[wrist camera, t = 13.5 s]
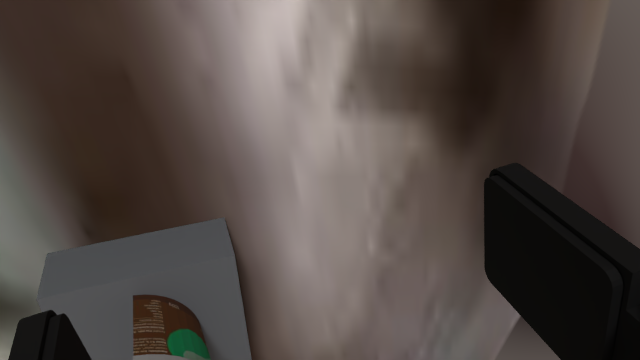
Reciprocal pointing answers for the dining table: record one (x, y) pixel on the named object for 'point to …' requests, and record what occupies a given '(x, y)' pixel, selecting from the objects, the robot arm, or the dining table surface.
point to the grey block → (149, 287)
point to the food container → (166, 330)
